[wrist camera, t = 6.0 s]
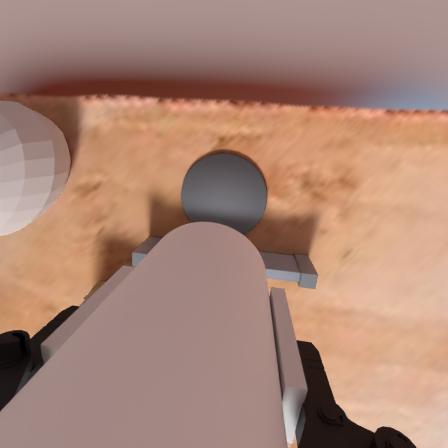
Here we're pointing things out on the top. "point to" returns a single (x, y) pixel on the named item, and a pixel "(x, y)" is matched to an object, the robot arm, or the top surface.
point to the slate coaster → (224, 192)
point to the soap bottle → (29, 165)
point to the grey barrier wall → (274, 264)
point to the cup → (165, 358)
